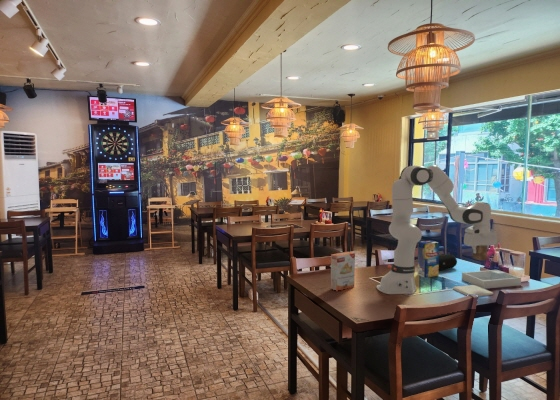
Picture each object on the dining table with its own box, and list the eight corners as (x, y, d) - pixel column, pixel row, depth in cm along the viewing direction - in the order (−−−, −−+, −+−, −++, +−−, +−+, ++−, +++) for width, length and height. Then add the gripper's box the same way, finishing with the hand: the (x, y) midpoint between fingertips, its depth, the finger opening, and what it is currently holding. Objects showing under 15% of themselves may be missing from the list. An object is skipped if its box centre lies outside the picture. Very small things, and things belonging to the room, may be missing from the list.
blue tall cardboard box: (438, 275, 233) (439, 242, 231) (424, 277, 229) (425, 243, 228) (431, 272, 239) (431, 240, 237) (417, 274, 236) (418, 241, 234)
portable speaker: (429, 273, 238) (429, 259, 237) (418, 270, 247) (418, 255, 246) (457, 269, 247) (458, 255, 247) (446, 266, 257) (446, 252, 256)
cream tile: (471, 297, 193) (471, 294, 193) (453, 289, 206) (453, 286, 206) (493, 295, 196) (493, 292, 196) (474, 287, 209) (474, 284, 209)
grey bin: (483, 289, 205) (483, 281, 205) (461, 280, 222) (462, 272, 222) (520, 286, 211) (521, 277, 210) (496, 277, 228) (496, 269, 227)
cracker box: (337, 292, 204) (337, 256, 202) (330, 289, 209) (330, 254, 207) (355, 287, 211) (355, 252, 209) (348, 285, 216) (348, 250, 214)
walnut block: (479, 260, 206) (480, 246, 206) (472, 258, 211) (473, 244, 210) (486, 259, 207) (487, 245, 207) (480, 257, 212) (480, 244, 212)
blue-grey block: (497, 283, 215) (497, 273, 214) (490, 280, 219) (491, 271, 219) (504, 282, 216) (504, 272, 215) (497, 280, 221) (498, 270, 220)
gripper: (491, 228, 213) (490, 251, 214) (462, 229, 209) (461, 252, 210) (500, 229, 207) (499, 253, 208) (470, 230, 202) (469, 254, 204)
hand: (479, 252), depth 209 cm, fingers closed on walnut block, 5 cm apart
